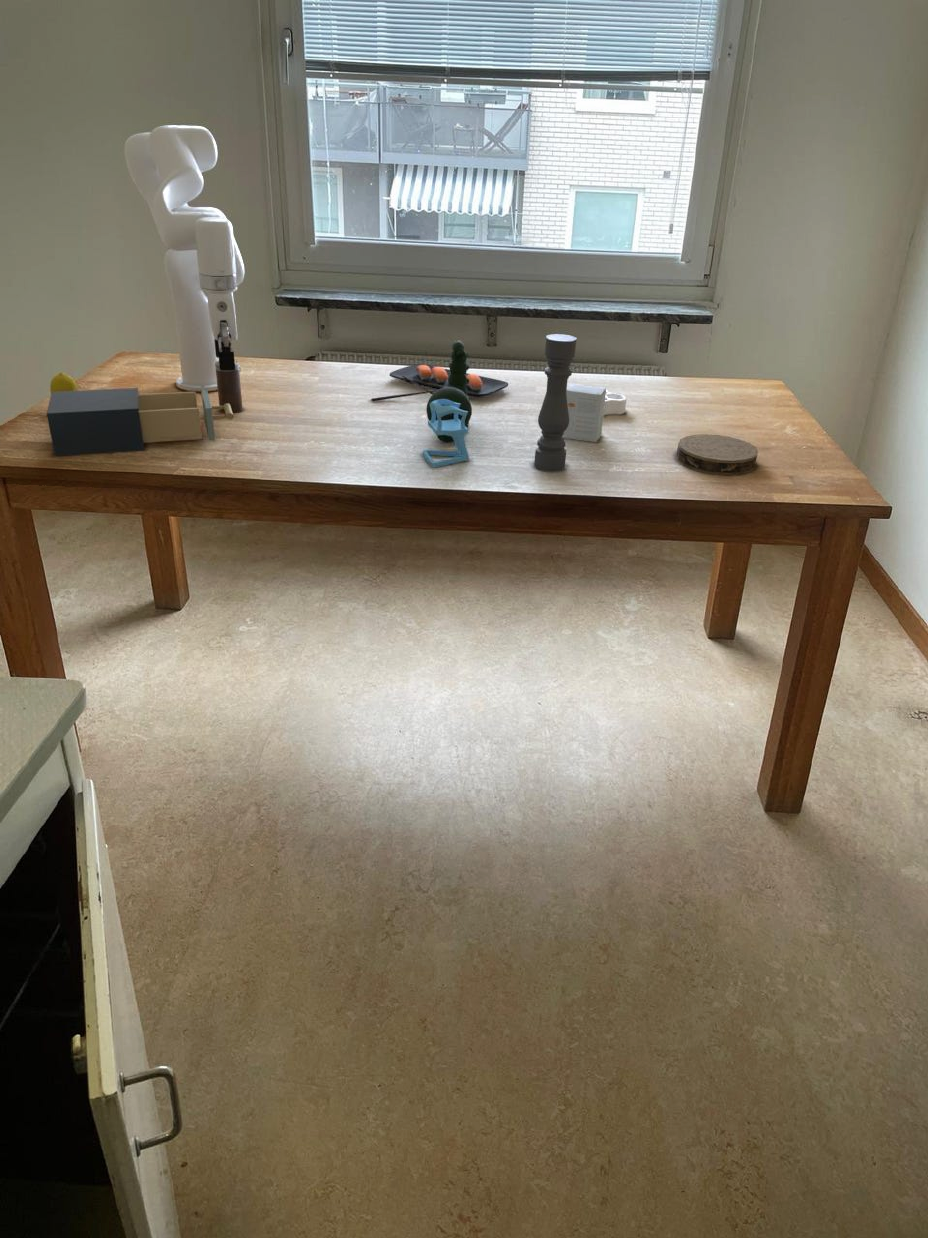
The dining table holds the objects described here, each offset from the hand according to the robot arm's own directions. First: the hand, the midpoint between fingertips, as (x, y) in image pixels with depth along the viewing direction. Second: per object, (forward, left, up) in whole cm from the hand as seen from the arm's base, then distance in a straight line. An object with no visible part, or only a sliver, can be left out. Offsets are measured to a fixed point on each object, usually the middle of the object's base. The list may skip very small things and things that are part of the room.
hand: (225, 363), depth 196 cm
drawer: (+17, +11, -9) cm, 22 cm away
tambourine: (-62, +88, -10) cm, 108 cm away
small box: (-51, +61, -10) cm, 80 cm away
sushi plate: (-46, +17, -10) cm, 50 cm away
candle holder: (-32, +69, -10) cm, 76 cm away
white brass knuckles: (-68, +48, -10) cm, 83 cm away
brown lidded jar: (0, +1, -10) cm, 10 cm away
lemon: (+28, -20, -10) cm, 36 cm away
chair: (-18, +54, -10) cm, 58 cm away
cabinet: (+31, +4, -10) cm, 33 cm away
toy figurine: (-30, +42, -10) cm, 52 cm away
